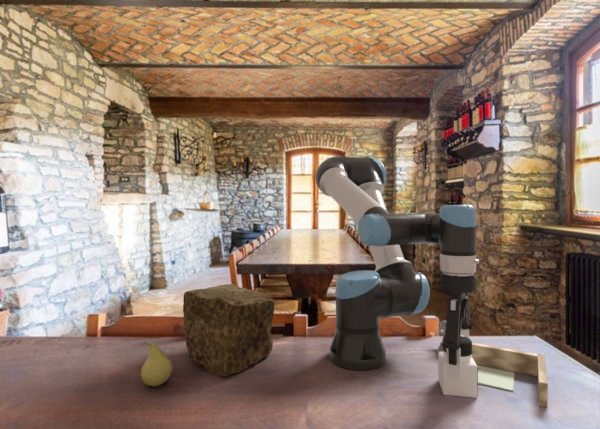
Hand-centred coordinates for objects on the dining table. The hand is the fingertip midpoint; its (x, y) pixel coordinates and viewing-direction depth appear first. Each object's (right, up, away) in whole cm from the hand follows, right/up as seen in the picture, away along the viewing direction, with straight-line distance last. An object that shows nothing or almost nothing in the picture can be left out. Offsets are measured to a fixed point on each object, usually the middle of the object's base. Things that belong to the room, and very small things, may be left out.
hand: (458, 366), depth 85 cm
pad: (+10, -5, +6) cm, 13 cm away
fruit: (-70, -6, +3) cm, 70 cm away
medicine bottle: (0, -6, +1) cm, 6 cm away
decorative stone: (-55, -5, +18) cm, 58 cm away
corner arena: (+10, -5, +5) cm, 12 cm away
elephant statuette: (+8, -5, +24) cm, 25 cm away
